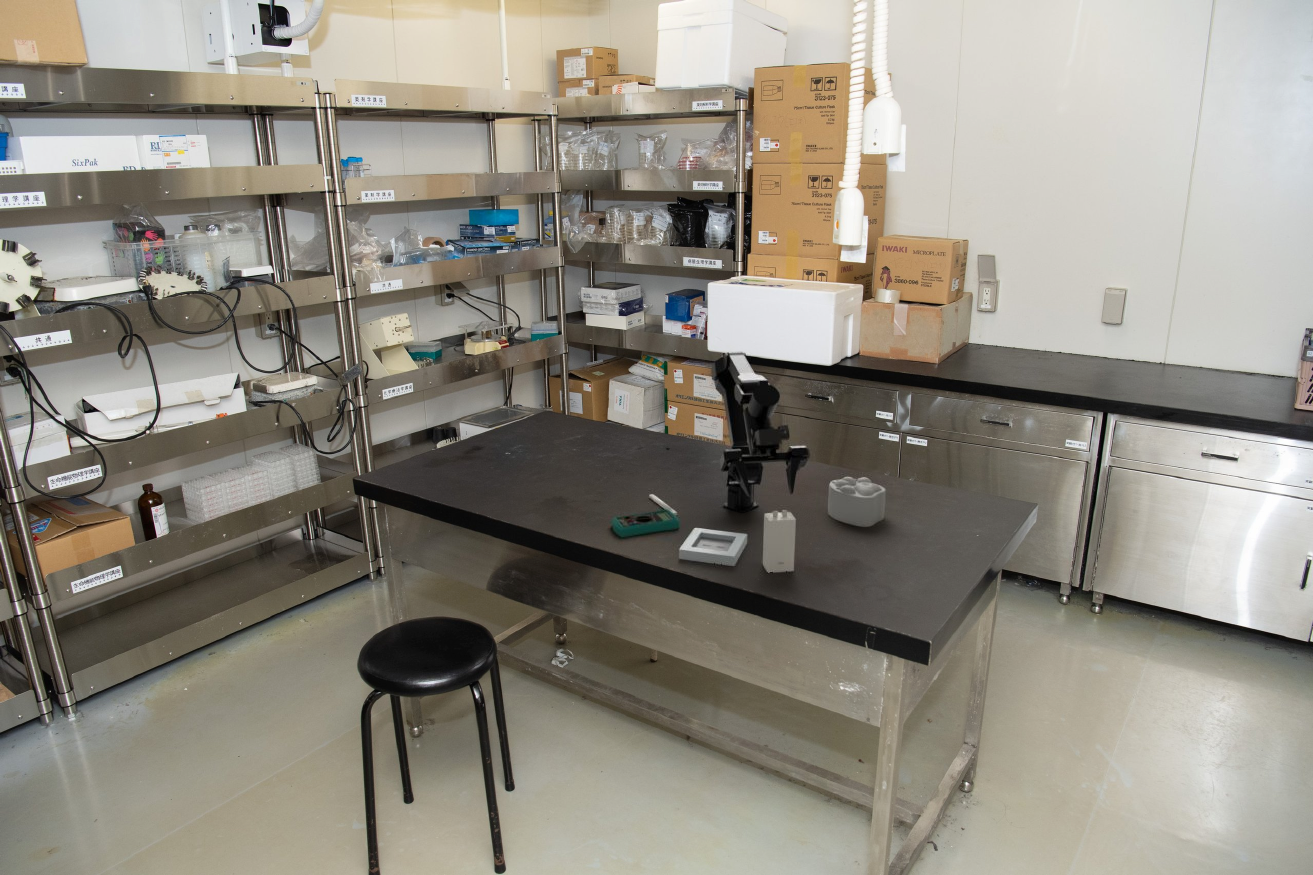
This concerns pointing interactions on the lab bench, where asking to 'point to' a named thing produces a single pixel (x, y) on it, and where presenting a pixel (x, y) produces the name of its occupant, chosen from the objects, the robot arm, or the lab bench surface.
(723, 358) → the robot arm
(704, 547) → the outlet plate
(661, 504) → the white rod
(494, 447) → the lab bench surface
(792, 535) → the adapter
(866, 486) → the lumpy-topped squat cylinder
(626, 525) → the digital multimeter
